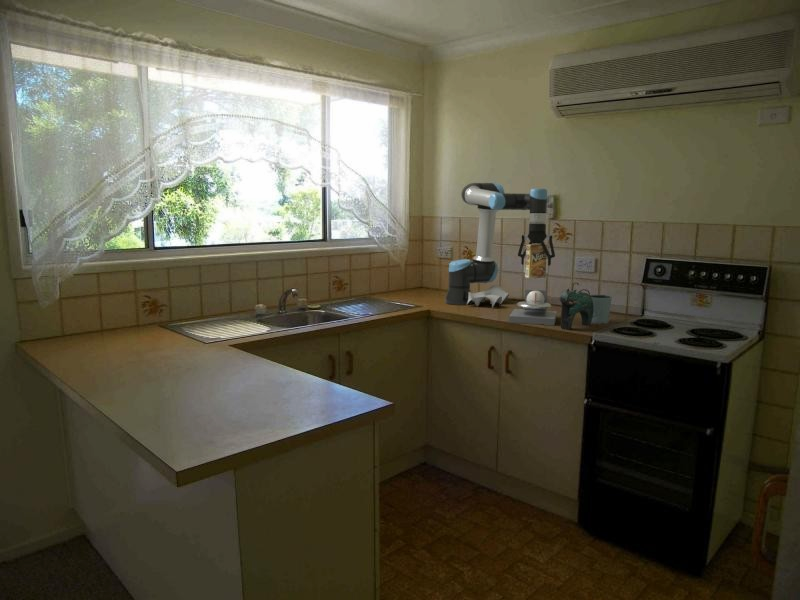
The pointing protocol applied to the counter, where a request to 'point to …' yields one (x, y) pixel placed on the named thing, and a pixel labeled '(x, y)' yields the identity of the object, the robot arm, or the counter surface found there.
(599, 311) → the pale blue cup
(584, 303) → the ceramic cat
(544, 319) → the kitchen scale
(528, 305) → the scale pan
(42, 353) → the counter surface
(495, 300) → the white irregular piece
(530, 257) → the candy box
